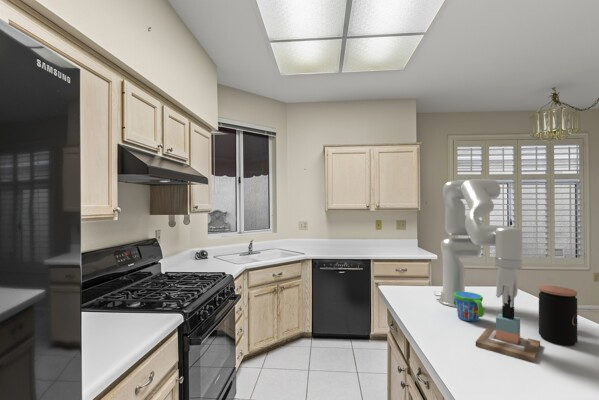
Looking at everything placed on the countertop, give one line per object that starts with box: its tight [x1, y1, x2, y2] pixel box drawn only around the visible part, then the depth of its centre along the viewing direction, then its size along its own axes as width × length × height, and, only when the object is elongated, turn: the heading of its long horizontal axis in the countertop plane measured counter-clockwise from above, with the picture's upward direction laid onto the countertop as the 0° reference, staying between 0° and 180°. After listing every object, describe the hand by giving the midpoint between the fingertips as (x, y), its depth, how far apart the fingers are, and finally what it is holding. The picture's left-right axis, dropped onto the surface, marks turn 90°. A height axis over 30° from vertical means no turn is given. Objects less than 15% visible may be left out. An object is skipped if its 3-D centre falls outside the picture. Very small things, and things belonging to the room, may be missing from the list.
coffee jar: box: [538, 285, 578, 347], centre depth 112 cm, size 11×11×18 cm
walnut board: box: [475, 327, 541, 363], centre depth 106 cm, size 16×16×2 cm
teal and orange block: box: [495, 313, 521, 345], centre depth 107 cm, size 6×6×8 cm
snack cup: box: [454, 291, 485, 322], centre depth 131 cm, size 16×10×10 cm
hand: (508, 317), depth 106 cm, fingers closed
